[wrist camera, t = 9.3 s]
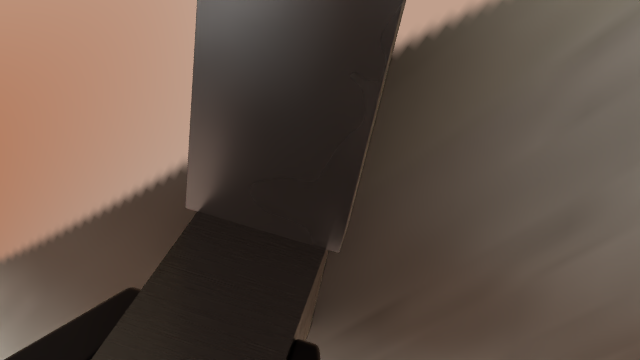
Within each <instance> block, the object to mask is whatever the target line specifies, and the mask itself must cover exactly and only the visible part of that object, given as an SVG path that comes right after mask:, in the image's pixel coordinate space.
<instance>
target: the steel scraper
mask: <svg viewBox="0 0 640 360" xmlns="http://www.w3.org/2000/svg"><path fill="white" fill-rule="evenodd" d="M405 2H406V0H197V13H196V32H195V49H194V67H193V84H192V102H191V118H190V136H189V154H188V171H187V188H186V206H185V208H187V209H191V210H194V211H198V212H197V213H196V215H195V216H194V218H193V219H192V220H191V222H190V223H189V225H188V226H187V227H186V229H185V230H184V231H183V233H182V234H181V236H180V237H179V238H178V240H177V241H176V243H175V244H174V245H173V247H172V248H171V249H170V251H169V252H168V254H167V255H166V256H165V258H164V259H163V261H162V262H161V263H160V265H159V266H158V267H157V269H156V270H155V272H154V273H153V274H152V276H151V277H150V279H149V280H148V281H147V283H146V284H145V285H144V287H143V288H142V290H141V291H140V292H139V294H138V295H137V297H136V298H135V299H134V301H133V302H132V304H131V305H130V306H129V308H128V309H127V310H126V312H125V313H124V315H123V316H122V317H121V319H120V320H119V322H118V323H117V324H116V326H115V327H114V328H113V330H112V331H111V333H110V334H109V335H108V337H107V338H106V340H105V341H104V342H103V344H102V345H101V346H100V348H99V349H98V351H97V352H96V353H95V355H94V356H93V358H92V359H91V360H287V359H288V357H289V354H290V352H291V349H292V347H293V344H294V342H295V340H297V339H300V340H304V341H306V339H307V336H308V333H309V330H310V327H311V322H312V318H313V314H314V310H315V306H316V302H317V298H318V293H319V289H320V285H321V281H322V277H323V273H324V268H325V264H326V260H327V256H328V252H329V250H330V251H333V252H337V253H339V252H340V249H341V246H342V243H343V240H344V237H345V234H346V231H347V228H348V224H349V220H350V216H351V212H352V209H353V205H354V201H355V197H356V193H357V189H358V185H359V181H360V177H361V174H362V170H363V166H364V162H365V158H366V154H367V150H368V146H369V142H370V138H371V135H372V131H373V127H374V123H375V119H376V115H377V111H378V107H379V103H380V100H381V96H382V92H383V88H384V84H385V80H386V76H387V72H388V68H389V65H390V61H391V57H392V53H393V49H394V45H395V41H396V37H397V33H398V30H399V26H400V22H401V18H402V14H403V10H404V6H405Z"/></svg>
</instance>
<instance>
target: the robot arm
mask: <svg viewBox="0 0 640 360" xmlns="http://www.w3.org/2000/svg"><path fill="white" fill-rule="evenodd" d="M140 291H141V290H140V289H137V288H133V287H132V288H128V289H125V290H124V291H122V292H120V293H119V294H117V295H115V296H113V297H112V298H110V299H108V300H106V301H105V302H103V303H101V304H100V305H98V306H96V307H94V308H93V309H91V310H89V311H87V312H86V313H84V314H82V315H81V316H79V317H77V318H75V319H74V320H72V321H70V322H68V323H67V324H65V325H63V326H62V327H60V328H58V329H56V330H55V331H53V332H51V333H49V334H48V335H46V336H44V337H43V338H41V339H39V340H37V341H36V342H34V343H32V344H30V345H29V346H27V347H25V348H24V349H22V350H20V351H18V352H17V353H15V354H13V355H11V356H10V357H8V358H6V359H4V360H91V359H92V358H93V356H94V355H95V353H96V352H97V351H98V349H99V348H100V346H101V345H102V344H103V342H104V341H105V340H106V338H107V337H108V335H109V334H110V333H111V331H112V330H113V328H114V327H115V326H116V324H117V323H118V322H119V320H120V319H121V317H122V316H123V315H124V313H125V312H126V310H127V309H128V308H129V306H130V305H131V304H132V302H133V301H134V299H135V298H136V297H137V295H138V294H139V292H140ZM287 360H320V352H319V348H318V346H317V345H316V344H313V343H310V342H307V341H304V340H300V339H297V340H295V342H294V344H293V347H292V349H291V352H290V354H289V357H288V359H287Z"/></svg>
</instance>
